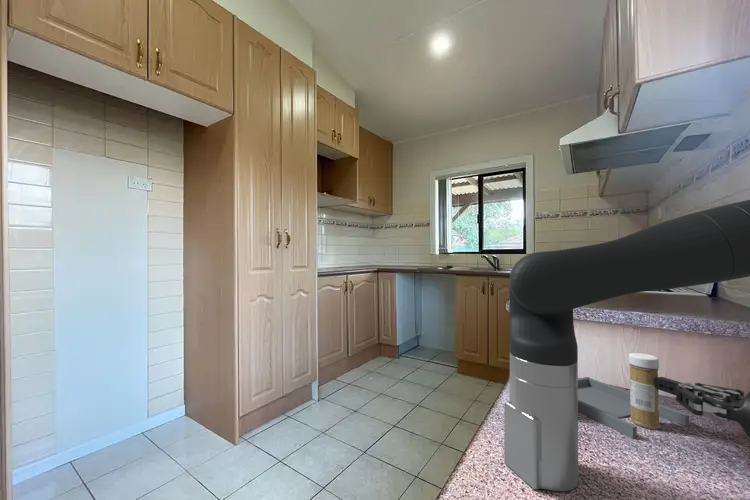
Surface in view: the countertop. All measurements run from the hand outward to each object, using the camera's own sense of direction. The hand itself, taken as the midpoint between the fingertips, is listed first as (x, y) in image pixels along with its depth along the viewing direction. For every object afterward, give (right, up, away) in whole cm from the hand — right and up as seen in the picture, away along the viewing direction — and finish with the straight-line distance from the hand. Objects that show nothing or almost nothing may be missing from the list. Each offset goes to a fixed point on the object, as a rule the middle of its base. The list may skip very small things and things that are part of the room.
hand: (657, 382), depth 60 cm
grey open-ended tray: (-3, -9, +9) cm, 13 cm away
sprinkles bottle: (-1, -9, +2) cm, 9 cm away
